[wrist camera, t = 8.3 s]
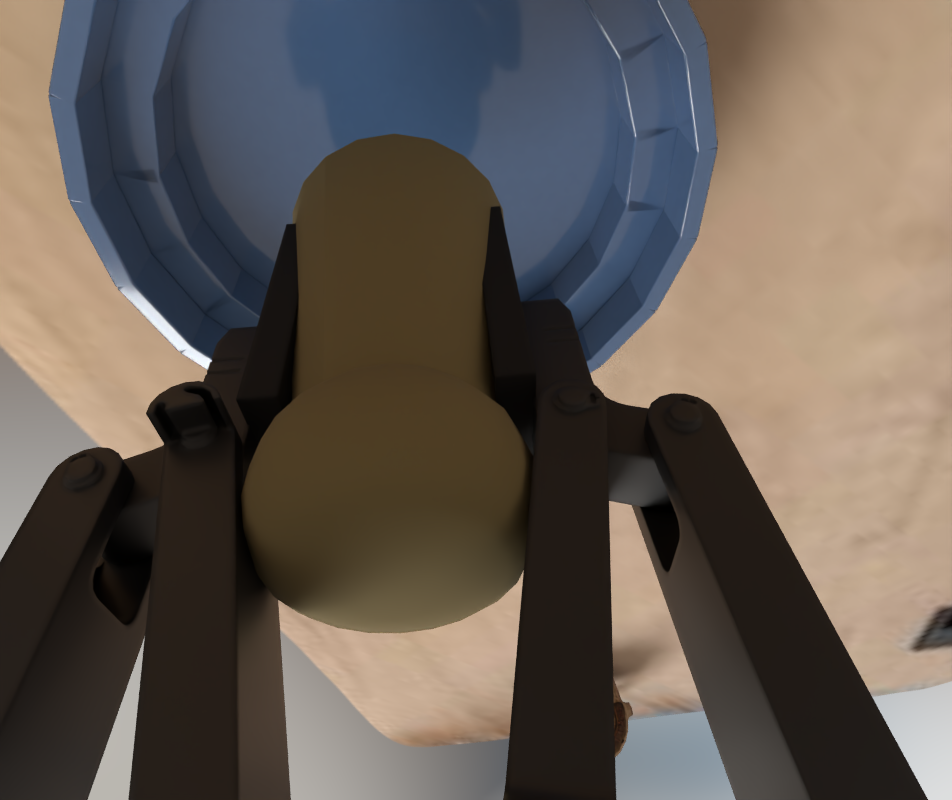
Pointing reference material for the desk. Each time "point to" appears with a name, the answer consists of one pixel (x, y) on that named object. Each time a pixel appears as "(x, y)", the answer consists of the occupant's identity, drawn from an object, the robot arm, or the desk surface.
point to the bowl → (375, 114)
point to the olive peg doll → (390, 404)
